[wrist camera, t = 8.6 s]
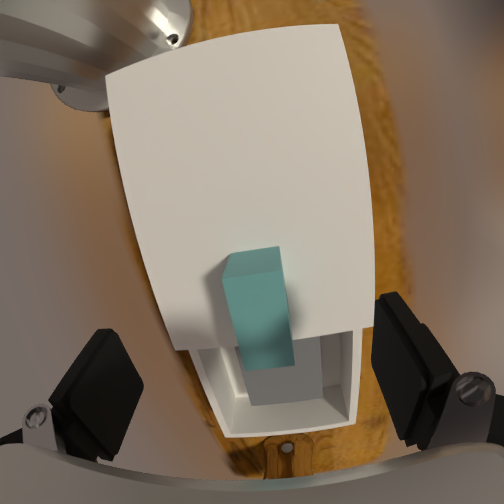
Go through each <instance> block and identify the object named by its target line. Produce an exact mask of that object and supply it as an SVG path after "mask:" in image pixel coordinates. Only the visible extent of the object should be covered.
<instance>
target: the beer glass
mask: <svg viewBox="0 0 504 504" xmlns="http://www.w3.org/2000/svg"><path fill="white" fill-rule="evenodd" d="M313 448H314V443H313V440H312V439H311V438H310V437H309V436H307V435H304V434H300V433H294V434H284V435H273V436H271V437H269V438H267V439H266V440H265V441H264V442H263V445H262V450H263V456H264V461H265V471H264V477H263V480H267V479H282V478H293V477H302V476H310V475H314V474H313V469H312V455H313Z"/></svg>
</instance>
